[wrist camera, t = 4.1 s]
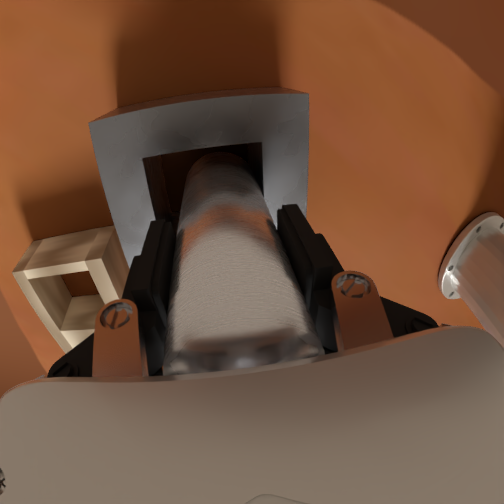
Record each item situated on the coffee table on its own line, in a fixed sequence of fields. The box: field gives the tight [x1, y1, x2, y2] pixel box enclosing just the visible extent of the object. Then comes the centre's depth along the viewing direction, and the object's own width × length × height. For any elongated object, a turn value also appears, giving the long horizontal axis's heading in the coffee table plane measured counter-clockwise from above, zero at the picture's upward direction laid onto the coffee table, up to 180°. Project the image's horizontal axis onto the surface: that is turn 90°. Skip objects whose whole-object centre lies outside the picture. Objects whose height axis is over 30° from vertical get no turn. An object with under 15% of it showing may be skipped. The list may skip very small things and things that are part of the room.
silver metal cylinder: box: [163, 152, 325, 376], centre depth 11 cm, size 4×4×12 cm
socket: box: [89, 87, 309, 269], centre depth 16 cm, size 10×10×5 cm
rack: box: [12, 225, 130, 353], centre depth 20 cm, size 8×16×7 cm, turn 3°
